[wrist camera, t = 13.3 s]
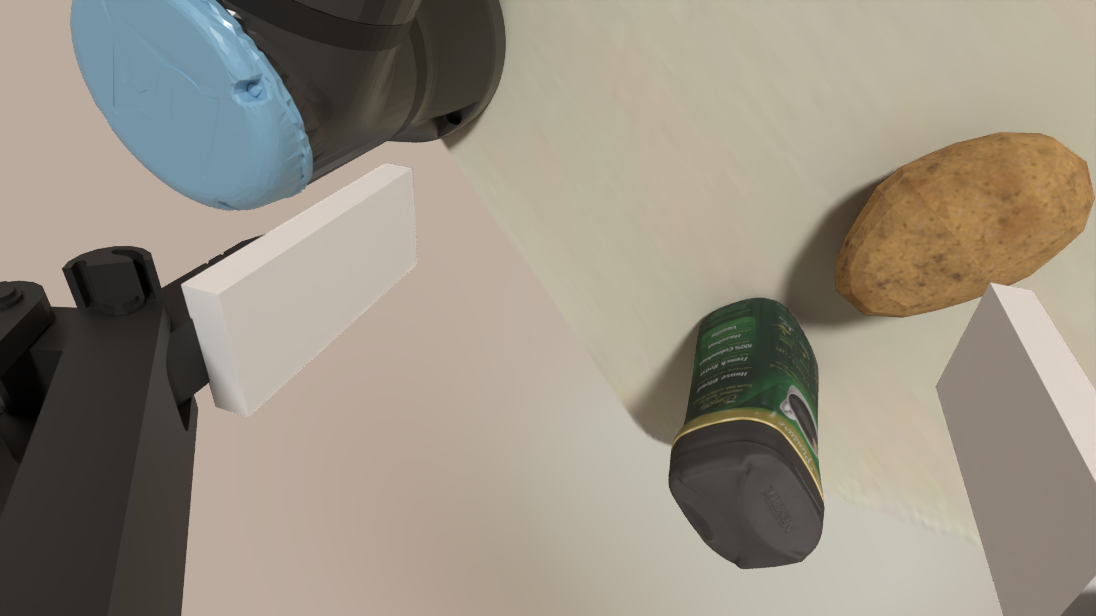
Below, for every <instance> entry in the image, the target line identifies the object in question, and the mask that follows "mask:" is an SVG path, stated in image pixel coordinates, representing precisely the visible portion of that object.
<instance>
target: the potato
mask: <svg viewBox="0 0 1096 616" xmlns="http://www.w3.org/2000/svg"><path fill="white" fill-rule="evenodd" d="M1094 199H1095V197H1094V192H1093V188H1092V184H1091V179H1090V175H1089V171H1088V166H1087V162H1086V161H1084V160H1083V159H1082V158H1080V157H1079V156H1077V155H1076V154H1075V153H1073V152H1072V151H1071V150H1069V149H1068V148H1067V147H1065V146H1064V145H1062V144H1061V143H1060V142H1058V141H1057V140H1056V139H1054V138H1052V137H1049V136H1046V135H1043V134H1040V133H1008V132H999V133H995V134H991V135H987V136H983V137H979V138H975V139H971V140H967V141H963V142H958V143H954V144H952V145H950V146H947V147H945V148H942V149H940V150H937V151H935V152H932V153H930V154H927V155H925V156H923V157H921V158H919V159H917V160H915V161H913V162H911V163H909V164H907V165H905V166H902V167H901V168H899V169H898V170H897V171H896V172H895V173H893V174H892V175H891V176H890V177H888V178H887V179H886V180H885V181H883V182H882V183H881V184H880V185H878V186H877V187H876V189H875V190H874V192H873V193H872V195H871V197H870V198H869V200H868V201H867V203H866V205H865V206H864V208H863V209H862V211H861V213H860V214H859V216H858V218H857V219H856V221H855V222H854V224H853V226H852V227H851V229H850V231H849V232H848V234H847V235H846V237H845V240H844V242H843V245H842V247H841V250H840V252H839V255H838V257H837V260H836V290H837V291H838V292H839V293H840V294H841V295H843V296H844V297H845V298H846V299H847V300H848V301H849V302H851V303H852V304H853V305H854V306H855V307H856V308H857V309H858V310H859V311H860V312H861V313H862V314H864V315H876V316H889V317H902V318H903V317H908V316H912V315H917V314H922V313H927V312H932V311H936V310H940V309H943V308H947V307H950V306H954V305H957V304H960V303H964V302H967V301H970V300H973V299H976V298H978V297H981V296H983V295H984V293H985V291H986V289H987V287H988V285H989V284H990V282H991V283H996V284H1001V285H1006V286H1009V285H1011V284H1013V283H1016V282H1018V281H1020V280H1022V279H1024V278H1026V277H1029V276H1030V275H1032V274H1033V273H1034V272H1035V271H1037V270H1038V269H1039V268H1040V267H1042V266H1043V265H1044V264H1045V263H1047V262H1048V261H1049V260H1051V259H1052V258H1053V257H1054V256H1056V255H1057V254H1058V253H1059V252H1060V251H1061V250H1063V249H1064V248H1065V247H1066V246H1067V245H1068V244H1069V243H1070V242H1071V241H1073V240H1074V239H1075V238H1076V237H1077V236H1078V235H1079V234H1080V233H1081V232H1083V231H1084V228H1085V225H1086V222H1087V220H1088V217H1089V214H1090V211H1091V208H1092V205H1093V202H1094Z"/></svg>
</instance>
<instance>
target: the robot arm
mask: <svg viewBox="0 0 1096 616" xmlns="http://www.w3.org/2000/svg"><path fill="white" fill-rule="evenodd" d="M70 24H71V33H72V42H73V47H74V51H75V55H76V59H77V61H78V65H79V68H80V70H81V73H82V76H83V78H84V81H85V83H86V85H87V87H88V89H89V91H90V94H91V95H92V98H93V100H94V102H95V104H96V105H97V107H98V108H99V109H100V111H101V112H102V113H103V115H104V116H105V118H106V119H107V121H108V123H109V125H110V127H111V128H112V130H113V131H114V133H115V134H116V135H117V137H118V138H119V139H120V141H121V142H122V143H123V144H124V146H125V147H126V148H127V149H128V150H129V151H130V152H131V153H132V154H133V155H134V156H135V157H136V159H137V160H138V161H139V162H140V163H142V165H143V166H144V167H146V168H147V169H148V170H149V171H150V172H151V173H153V174H154V175H155V176H156V177H157V178H158V179H160V180H161V181H162V182H164V183H165V184H166V185H168V186H169V187H171V188H172V189H174V190H175V191H177V192H179V193H181V194H182V195H184V196H186V197H188V198H190V199H192V200H194V201H196V202H198V203H201V204H204V205H206V206H209V207H213V208H217V209H222V210H238V211H239V210H251V209H255V208H259V207H262V206H264V205H267V204H270V203H272V202H275V201H278V200H280V199H283V198H288V197H292V196H294V195H296V194H298V193H300V192H301V190H303V189H305V188H306V186H307V185H309V184H311V183H312V182H314V181H316V180H318V179H320V178H321V177H323V176H325V175H327V174H328V173H330V172H332V171H334V170H335V169H337V168H339V167H341V166H343V165H344V164H347V163H348V162H350V161H352V160H354V159H355V158H357V157H359V156H361V155H363V154H365V153H366V152H368V151H370V150H372V149H374V148H375V147H377V146H379V145H381V144H383V143H384V142H386V141H396V142H427V141H433V140H437V139H440V138H443V137H446V136H448V135H450V134H452V133H454V132H456V131H457V130H459V129H460V128H462V127H464V126H465V125H467V124H468V123H470V122H471V121H472V120H474V119H475V118H476V117H477V116H478V115H479V114H480V113H481V112H482V111H483V110H484V109H485V107H486V106H487V105H488V103H489V102H490V100H491V99H492V97H493V95H494V93H495V91H496V89H497V86H498V84H499V81H500V78H501V74H502V71H503V66H504V59H505V48H506V39H505V27H504V20H503V15H502V10H501V7H500V3H499V0H72V6H71V22H70ZM415 228H416V227H415V207H414V185H413V168H410V167H404V166H399V165H394V164H389V163H385V164H383V165H381V166H379V167H378V168H376V169H374V170H373V171H371V172H369V173H368V174H366V175H364V176H363V177H361V178H359V179H358V180H356V181H354V182H353V183H351V184H349V185H348V186H346V187H344V188H343V189H341V190H339V191H338V192H336V193H334V194H332V195H331V196H329V197H327V198H326V199H324V200H322V201H321V202H319V203H317V204H315V205H314V206H312V207H311V208H309V209H307V210H305V211H304V212H302V213H300V214H299V215H297V216H295V217H294V218H292V219H290V220H289V221H287V222H285V223H284V224H282V225H280V226H278V227H277V228H275V229H273V230H272V231H270V232H268V233H267V234H264V235H261V236H258V237H254V238H251V239H248V240H245V241H242V242H240V243H238V244H237V245H235V246H233V247H232V248H230V249H228V250H226V251H225V252H224V254H223V255H221V254H220V255H218V256H216V257H215V258H213V259H211V260H209V263H208V264H206V263H204V264H202V265H201V266H199V267H197V268H196V269H194V270H192V271H191V272H189V273H187V274H185V275H184V276H182V277H180V278H178V279H177V280H175V281H173V282H172V283H170V284H168V285H167V286H165V287H163V288H161V286H160V282H159V279H158V275H157V272H156V269H155V265H154V262H153V259H152V255H151V253H150V252H148V251H147V250H145V249H143V248H138V247H133V246H113V247H108V248H102V249H97V250H93V251H90V252H87V253H84V254H81V255H79V256H78V257H76V258H74V259H72V260H70V261H68V263H67V264H66V265H65V266H64V267H63V268H62V270H63V272H64V275H65V278H66V280H67V283H68V285H69V288H70V290H71V293H72V295H73V298H74V300H75V302H76V306H77V308H69V307H51V306H50V303H49V301H48V298H47V296H46V294H45V292H44V289H43V287H42V286H41V285H39V284H37V283H34V282H27V281H12V282H7V281H3V282H0V616H181V609H182V598H183V587H184V573H185V562H186V550H187V538H188V526H189V513H190V501H191V489H192V477H193V464H194V453H195V441H196V428H197V416H198V407H197V403H196V400H195V397H194V394H195V393H196V392H198V391H199V390H200V389H201V388H203V387H204V386H205V385H206V384H207V383H209V385H210V389H211V392H212V396H213V399H214V402H215V406H216V407H218V408H221V409H225V410H228V411H231V412H234V413H237V414H240V415H243V416H246V417H250V416H251V415H252V414H253V413H254V412H255V411H256V410H257V409H258V408H259V407H260V406H262V405H263V404H264V403H265V402H266V401H267V400H268V399H269V398H270V397H272V396H273V395H274V394H275V393H276V392H277V391H278V390H279V389H280V388H281V387H283V386H284V385H285V384H286V383H287V382H288V381H289V380H290V379H291V378H293V377H294V376H295V375H296V374H297V373H298V372H299V371H300V370H301V369H302V368H304V366H306V365H307V364H308V363H309V362H310V361H311V360H312V359H313V358H315V357H316V356H317V355H318V354H319V353H320V352H321V351H322V350H323V349H324V348H325V347H327V346H328V345H329V344H330V343H331V342H332V341H333V340H334V339H335V338H337V337H338V336H339V335H340V334H341V333H342V332H343V331H344V330H345V329H346V328H348V327H349V326H350V325H351V324H352V323H353V322H354V321H355V320H356V319H357V318H358V317H360V316H361V315H362V314H363V313H364V312H365V311H366V310H367V309H368V308H369V307H371V306H372V305H373V304H374V303H375V302H376V301H377V300H378V299H379V298H380V297H382V295H384V294H385V293H386V292H387V291H388V290H389V289H390V288H391V287H392V286H394V285H395V284H396V283H397V282H398V281H399V280H400V279H401V278H402V277H403V276H405V275H406V274H407V273H408V272H409V271H410V270H411V269H412V268H413V267H415V266H416V265H417V248H416V229H415ZM936 389H937V392H938V396H939V399H940V402H941V406H942V409H943V413H944V416H945V419H946V423H947V426H948V430H949V433H950V436H951V440H952V443H953V446H954V450H955V453H956V457H957V460H958V463H959V467H960V470H961V474H962V477H963V480H964V484H965V487H966V490H967V494H968V497H969V501H970V504H971V507H972V511H973V514H974V518H975V521H976V524H977V528H978V531H979V534H980V538H981V541H982V545H983V548H984V551H985V555H986V558H987V561H988V564H989V568H990V571H991V575H992V578H993V582H994V585H995V589H996V592H997V595H998V599H999V602H1000V605H1001V609H1002V612H1003V616H1096V391H1095V390H1094V388H1093V386H1092V385H1091V383H1090V382H1089V380H1088V378H1087V377H1086V375H1085V374H1084V372H1083V370H1082V369H1081V367H1080V366H1079V364H1078V363H1077V361H1076V359H1075V358H1074V356H1073V355H1072V353H1071V351H1070V350H1069V348H1068V347H1067V345H1066V344H1065V342H1064V340H1063V339H1062V337H1061V336H1060V334H1059V332H1058V331H1057V329H1056V328H1055V326H1054V324H1053V323H1052V321H1051V320H1050V318H1049V317H1048V315H1047V313H1046V312H1045V310H1044V309H1043V307H1042V305H1041V304H1040V302H1039V301H1038V299H1037V297H1036V296H1035V294H1034V293H1033V291H1031V290H1026V289H1021V288H1016V287H1011V286H1006V285H1001V284H996V283H991V282H990V284H989V285H988V287H987V289H986V291H985V293H984V295H983V297H982V299H981V301H980V303H979V305H978V307H977V308H976V310H975V312H974V314H973V316H972V318H971V320H970V322H969V324H968V326H967V328H966V330H965V332H964V333H963V335H962V337H961V339H960V341H959V343H958V345H957V347H956V349H955V351H954V353H953V355H952V357H951V358H950V360H949V362H948V364H947V366H946V368H945V370H944V372H943V374H942V376H941V378H940V380H939V382H938V383H937V385H936Z"/></svg>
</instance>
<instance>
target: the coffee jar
mask: <svg viewBox="0 0 1096 616" xmlns="http://www.w3.org/2000/svg"><path fill="white" fill-rule="evenodd" d="M669 488H670V491H671V493H672V495H673V497H674V499H675V500H676V502H677V504H678V505H679V507H680V508H681V510H682V512H683V513H684V515H685V517H686V518H687V519H688V521H689V522H690V524H691V525H692V526H693V528H694V529H695V530H696V531H697V533H698V534H699V535H700V537H701V538H702V540H703V541H704V542H705V543H706V544H707V545H708V546H709V547H710V548H711V549H712V550H714V551H715V552H716V553H718V554H719V555H720V556H722V557H723V558H725V559H727V560H728V561H730V562H732V563H734V564H736V565H737V566H738V567H739V568H741V569H753V568H767V567H776V566H783V565H788V564H794V563H798V562H801V561H803V560H804V559H805V558H806V557H807V556H808V555H809V554H810V553H811V552H812V551H813V550H814V549H815V548H816V546H817V545H818V542H819V540H820V538H821V534H822V528H823V518H824V498H823V491H822V485H821V478H820V470H819V461H818V364H817V361H816V358H815V355H814V353H813V350H812V348H811V346H810V344H809V341H808V340H807V338H806V336H805V334H804V332H803V330H802V329H801V327H800V325H799V324H798V322H797V321H796V320H795V318H794V317H793V316H792V314H791V313H790V312H789V311H788V309H787V308H786V307H784V306H783V305H782V304H780V303H779V302H777V301H774V300H771V299H766V298H751V299H746V300H742V301H739V302H736V303H733V304H730V305H727V306H725V307H723V308H720V309H719V310H717V311H715V312H713V313H712V314H710V315H709V316H708V317H707V318H706V319H705V320H704V321H703V323H702V324H701V327H700V330H699V335H698V340H697V346H696V353H695V361H694V370H693V377H692V384H691V390H690V395H689V401H688V407H687V413H686V418H685V422H684V426H683V428H682V429H681V430H680V431H679V433H678V434H677V436H676V437H675V440H674V442H673V445H672V449H671V459H670V470H669Z"/></svg>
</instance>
